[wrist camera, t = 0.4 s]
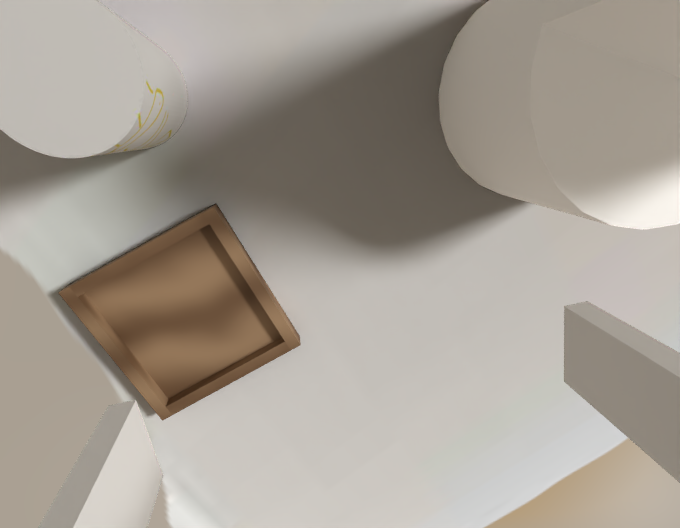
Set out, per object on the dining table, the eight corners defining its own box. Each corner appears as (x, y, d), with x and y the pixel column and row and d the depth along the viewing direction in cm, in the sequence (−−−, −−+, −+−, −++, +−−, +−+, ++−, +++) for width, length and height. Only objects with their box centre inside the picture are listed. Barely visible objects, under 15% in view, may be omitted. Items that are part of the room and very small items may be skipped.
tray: (68, 285, 37) (58, 292, 35) (216, 203, 36) (213, 206, 35) (167, 408, 41) (162, 420, 39) (299, 336, 41) (300, 344, 39)
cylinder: (480, -55, 34) (1236, -734, 7) (663, 21, 37) (1614, -249, 11) (411, 168, 38) (730, 256, 11) (581, 217, 42) (1125, 370, 15)
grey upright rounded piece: (108, 165, 35) (26, 181, 23) (50, 57, 32) (-74, 16, 21) (206, 127, 35) (172, 124, 23) (156, 16, 32) (91, -46, 21)
